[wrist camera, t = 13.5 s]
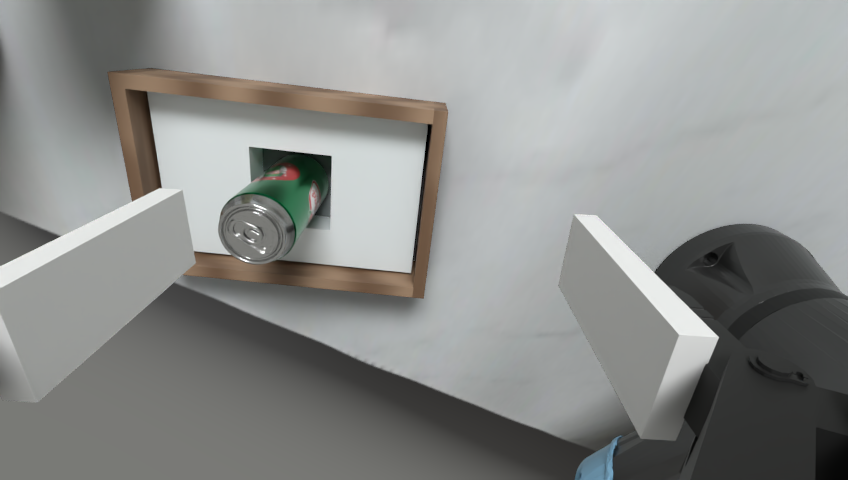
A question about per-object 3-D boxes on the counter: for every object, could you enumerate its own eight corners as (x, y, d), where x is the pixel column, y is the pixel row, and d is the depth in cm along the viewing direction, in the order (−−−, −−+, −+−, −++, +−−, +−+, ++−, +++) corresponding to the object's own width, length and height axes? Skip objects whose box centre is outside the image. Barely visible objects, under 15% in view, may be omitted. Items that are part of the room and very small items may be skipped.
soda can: (317, 215, 39) (275, 281, 28) (265, 190, 38) (201, 249, 27) (339, 169, 37) (303, 221, 26) (285, 141, 36) (225, 184, 25)
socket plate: (427, 117, 35) (428, 123, 33) (412, 257, 41) (411, 273, 38) (168, 87, 34) (146, 90, 32) (188, 235, 40) (171, 248, 37)
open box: (445, 103, 35) (448, 111, 30) (423, 270, 42) (423, 298, 37) (150, 68, 34) (107, 71, 29) (176, 245, 41) (145, 271, 36)
